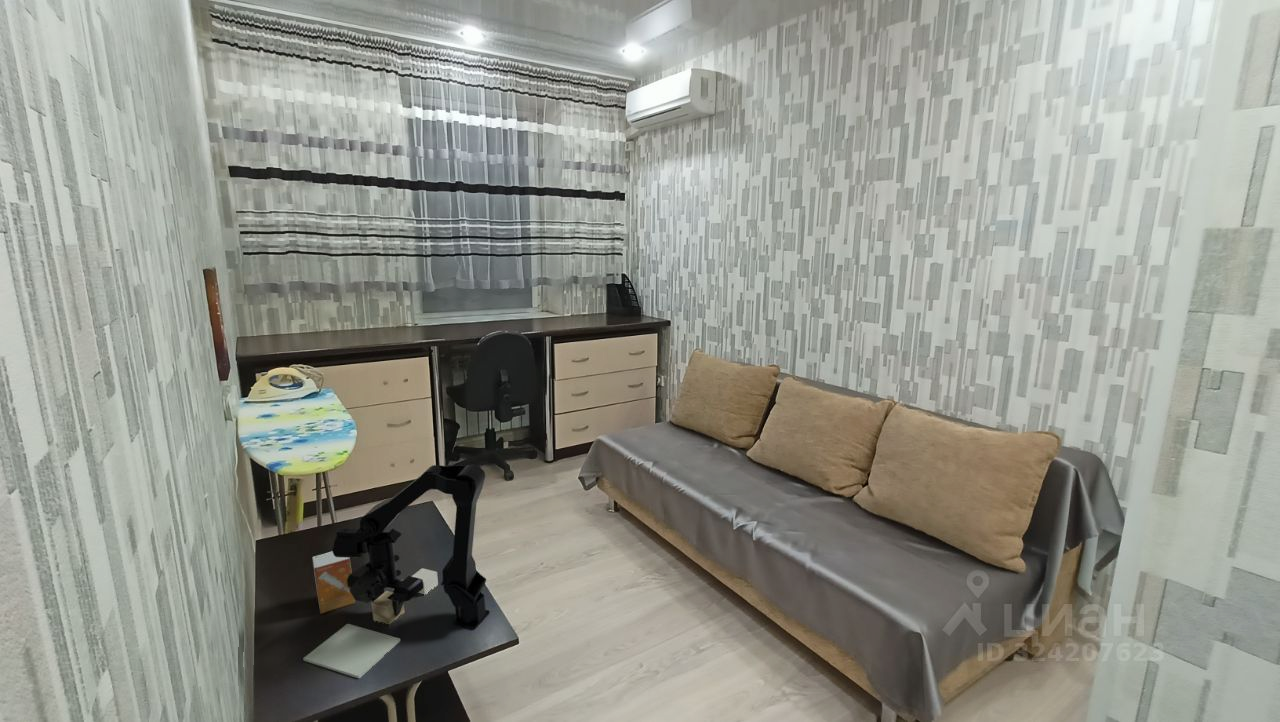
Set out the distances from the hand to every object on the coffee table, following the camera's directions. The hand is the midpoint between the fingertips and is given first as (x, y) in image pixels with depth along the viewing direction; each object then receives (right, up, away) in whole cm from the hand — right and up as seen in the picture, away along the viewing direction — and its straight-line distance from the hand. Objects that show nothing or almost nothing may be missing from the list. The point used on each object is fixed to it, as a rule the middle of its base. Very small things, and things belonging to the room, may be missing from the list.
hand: (388, 612), depth 138 cm
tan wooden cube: (0, -1, 0) cm, 1 cm away
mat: (-3, -4, -11) cm, 12 cm away
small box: (-16, 0, +6) cm, 17 cm away
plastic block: (+4, +1, +11) cm, 12 cm away
